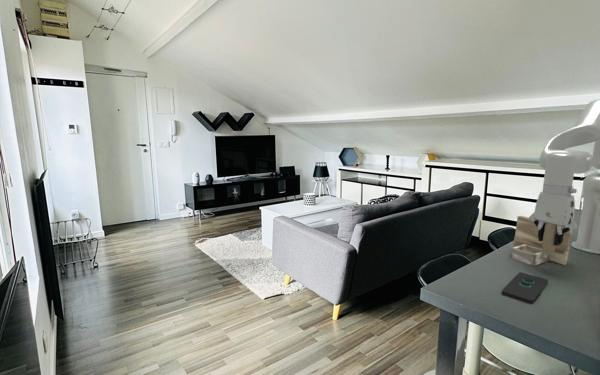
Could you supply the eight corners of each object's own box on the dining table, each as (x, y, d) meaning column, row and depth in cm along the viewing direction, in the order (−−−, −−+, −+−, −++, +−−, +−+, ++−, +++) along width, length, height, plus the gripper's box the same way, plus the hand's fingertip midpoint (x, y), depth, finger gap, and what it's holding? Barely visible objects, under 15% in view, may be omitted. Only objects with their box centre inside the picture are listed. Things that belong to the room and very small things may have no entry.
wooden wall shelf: (516, 248, 138) (520, 215, 135) (567, 263, 122) (573, 227, 120) (497, 253, 131) (501, 219, 129) (548, 270, 116) (554, 232, 114)
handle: (556, 258, 110) (563, 215, 107) (534, 252, 115) (539, 211, 112) (561, 255, 113) (568, 212, 110) (539, 249, 118) (544, 208, 115)
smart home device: (549, 279, 107) (533, 300, 93) (548, 284, 107) (532, 306, 93) (519, 271, 112) (500, 290, 99) (518, 276, 113) (499, 295, 99)
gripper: (593, 193, 104) (584, 248, 108) (535, 184, 118) (528, 233, 122) (582, 196, 100) (573, 252, 104) (523, 187, 115) (517, 237, 118)
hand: (549, 242), depth 113 cm, fingers closed on handle, 4 cm apart
